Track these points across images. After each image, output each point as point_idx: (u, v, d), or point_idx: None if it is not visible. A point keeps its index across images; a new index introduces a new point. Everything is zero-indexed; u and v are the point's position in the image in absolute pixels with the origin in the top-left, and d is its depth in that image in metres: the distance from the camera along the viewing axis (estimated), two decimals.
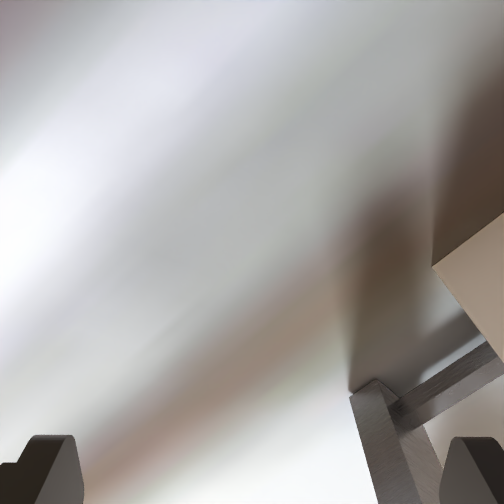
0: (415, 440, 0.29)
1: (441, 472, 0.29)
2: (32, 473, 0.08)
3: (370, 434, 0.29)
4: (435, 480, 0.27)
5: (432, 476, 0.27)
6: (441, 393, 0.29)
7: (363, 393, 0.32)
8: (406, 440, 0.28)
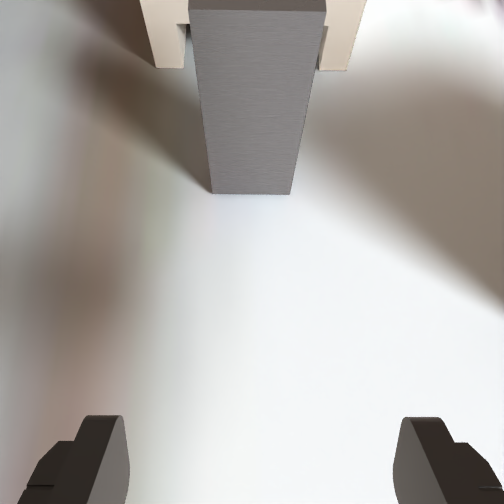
0: None
1: None
2: (90, 449, 0.09)
3: None
4: None
5: None
6: None
7: None
8: None
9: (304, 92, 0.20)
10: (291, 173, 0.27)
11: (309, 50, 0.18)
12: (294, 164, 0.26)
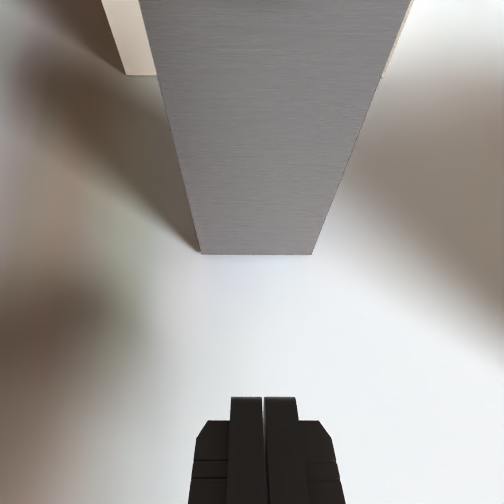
0: None
1: None
2: (249, 427, 0.09)
3: None
4: None
5: None
6: None
7: None
8: None
9: (353, 121, 0.12)
10: (316, 231, 0.18)
11: (374, 46, 0.09)
12: (322, 220, 0.17)
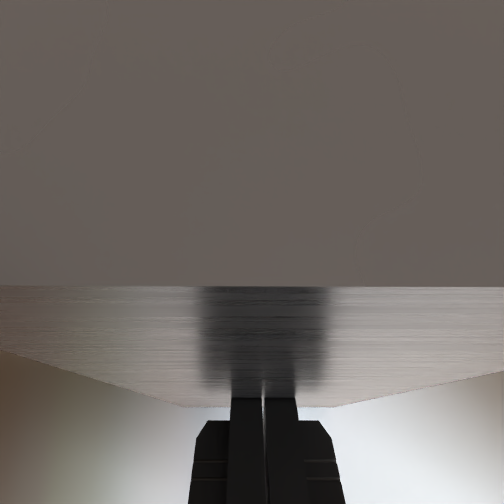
0: None
1: None
2: (249, 427, 0.09)
3: None
4: None
5: None
6: None
7: None
8: None
9: (447, 379, 0.06)
10: None
11: None
12: (357, 401, 0.12)
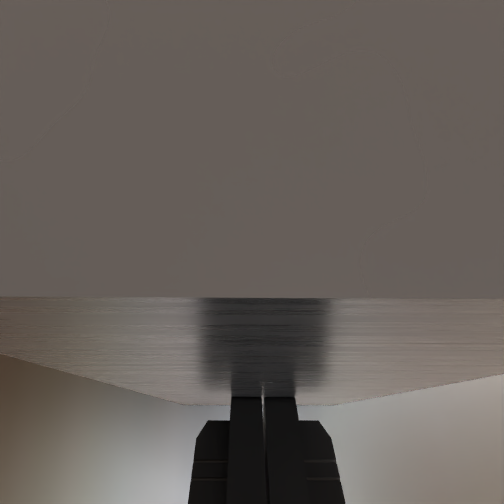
0: None
1: None
2: (248, 426, 0.09)
3: None
4: None
5: None
6: None
7: None
8: None
9: (448, 380, 0.06)
10: None
11: None
12: (357, 400, 0.12)
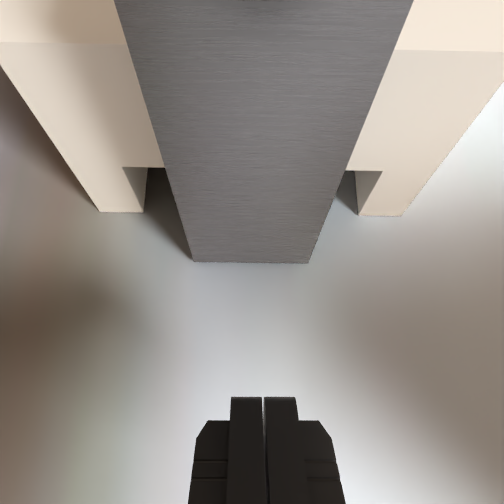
0: None
1: None
2: (249, 427, 0.09)
3: None
4: None
5: None
6: None
7: None
8: None
9: (350, 129, 0.11)
10: (313, 240, 0.17)
11: (374, 50, 0.09)
12: (319, 230, 0.16)
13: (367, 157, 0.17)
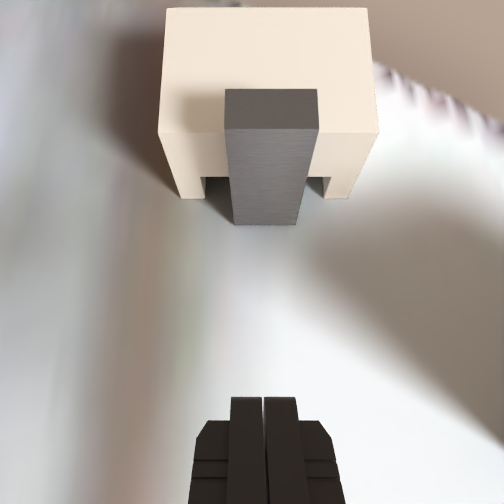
0: None
1: None
2: (249, 426, 0.09)
3: None
4: None
5: None
6: None
7: None
8: None
9: (305, 168, 0.28)
10: (296, 212, 0.35)
11: (308, 147, 0.26)
12: (298, 207, 0.34)
13: (322, 170, 0.33)
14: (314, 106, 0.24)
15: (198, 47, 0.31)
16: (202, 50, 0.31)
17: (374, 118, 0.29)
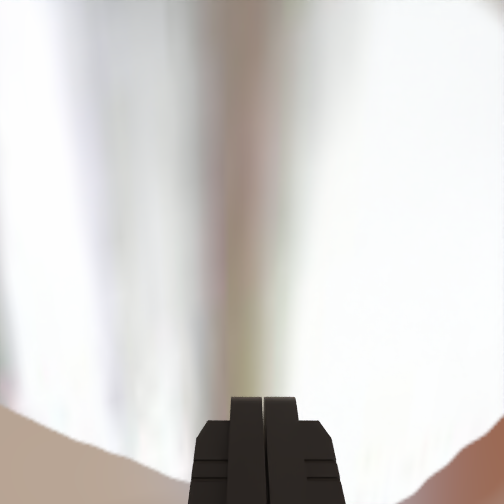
0: None
1: None
2: (248, 426, 0.09)
3: None
4: None
5: None
6: None
7: None
8: None
9: None
10: None
11: None
12: None
13: None
14: None
15: None
16: None
17: None
